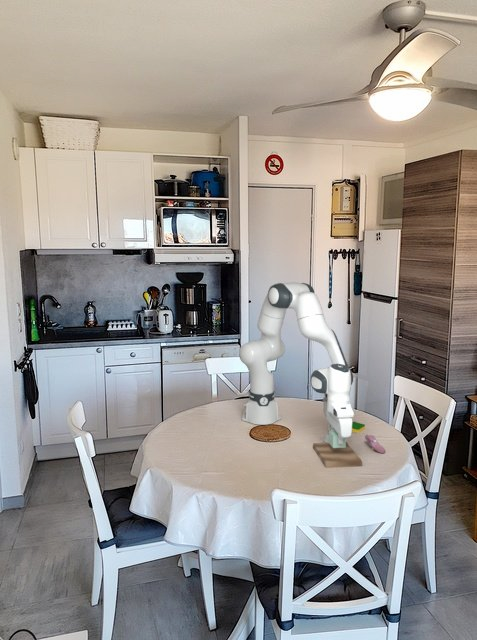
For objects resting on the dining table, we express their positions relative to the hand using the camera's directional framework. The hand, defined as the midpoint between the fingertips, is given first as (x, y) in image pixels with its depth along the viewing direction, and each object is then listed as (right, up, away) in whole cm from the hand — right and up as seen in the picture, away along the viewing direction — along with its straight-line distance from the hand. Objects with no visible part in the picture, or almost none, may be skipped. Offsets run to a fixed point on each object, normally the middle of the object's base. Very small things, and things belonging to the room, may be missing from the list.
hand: (337, 440), depth 189 cm
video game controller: (+17, -6, +8) cm, 20 cm away
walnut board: (0, -7, +1) cm, 7 cm away
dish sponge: (+11, -3, +32) cm, 34 cm away
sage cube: (0, -2, 0) cm, 2 cm away
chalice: (0, -5, +17) cm, 18 cm away
